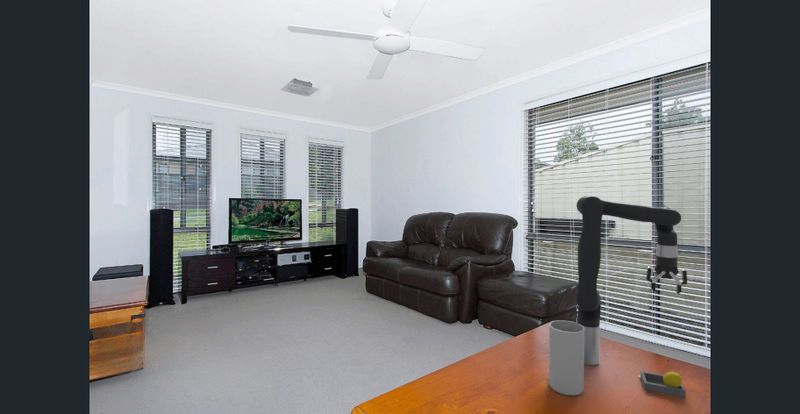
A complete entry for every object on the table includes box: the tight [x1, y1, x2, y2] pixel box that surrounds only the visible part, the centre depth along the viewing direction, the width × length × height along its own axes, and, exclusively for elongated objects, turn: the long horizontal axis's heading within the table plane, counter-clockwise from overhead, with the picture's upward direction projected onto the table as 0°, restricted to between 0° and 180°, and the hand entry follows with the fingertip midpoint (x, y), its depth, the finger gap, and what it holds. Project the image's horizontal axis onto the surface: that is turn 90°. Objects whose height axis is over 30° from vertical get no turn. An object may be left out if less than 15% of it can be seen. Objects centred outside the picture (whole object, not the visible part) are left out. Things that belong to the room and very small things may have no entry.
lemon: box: [663, 371, 683, 388], centre depth 143 cm, size 6×6×8 cm
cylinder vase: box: [548, 320, 585, 397], centre depth 147 cm, size 12×12×25 cm
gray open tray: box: [639, 371, 686, 399], centre depth 146 cm, size 13×10×3 cm
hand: (665, 292), depth 161 cm, fingers open, 8 cm apart
